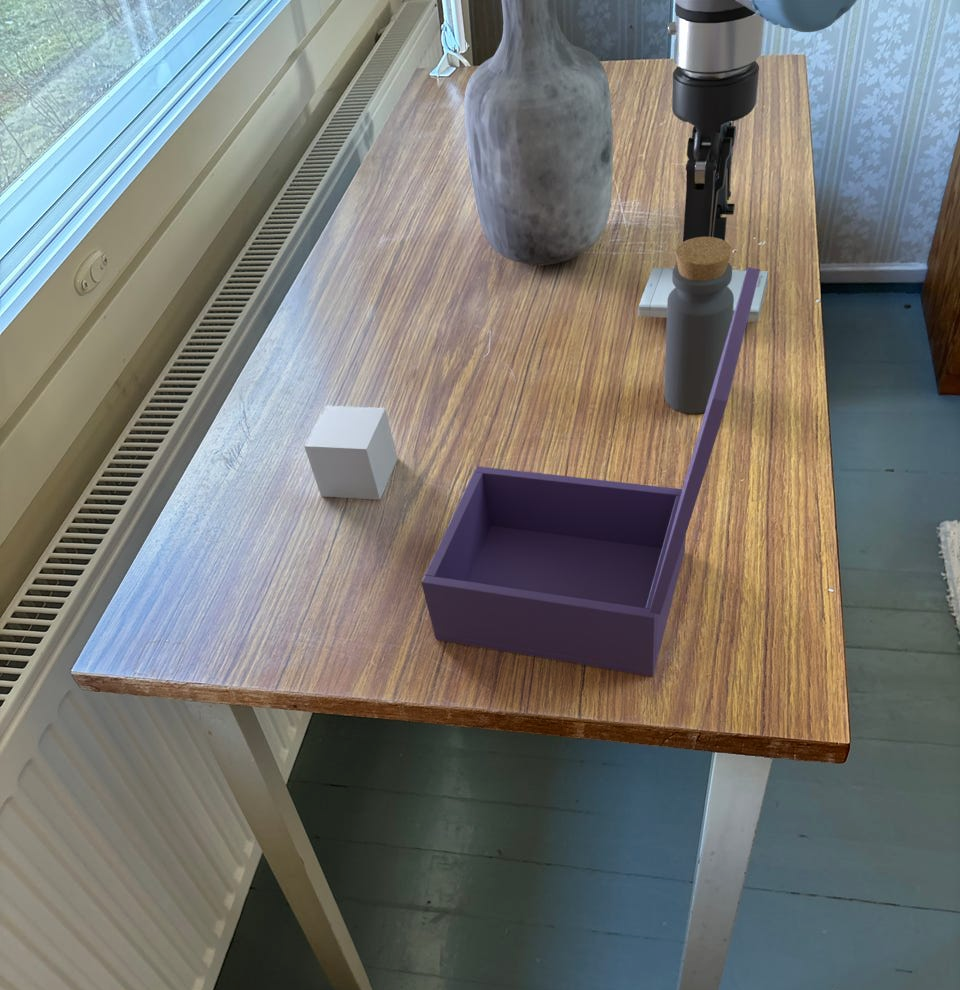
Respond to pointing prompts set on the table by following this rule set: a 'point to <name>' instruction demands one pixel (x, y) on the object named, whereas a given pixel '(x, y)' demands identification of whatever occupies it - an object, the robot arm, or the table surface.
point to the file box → (555, 569)
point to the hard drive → (662, 286)
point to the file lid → (706, 437)
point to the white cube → (352, 452)
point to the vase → (539, 140)
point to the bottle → (697, 322)
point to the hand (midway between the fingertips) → (702, 298)
